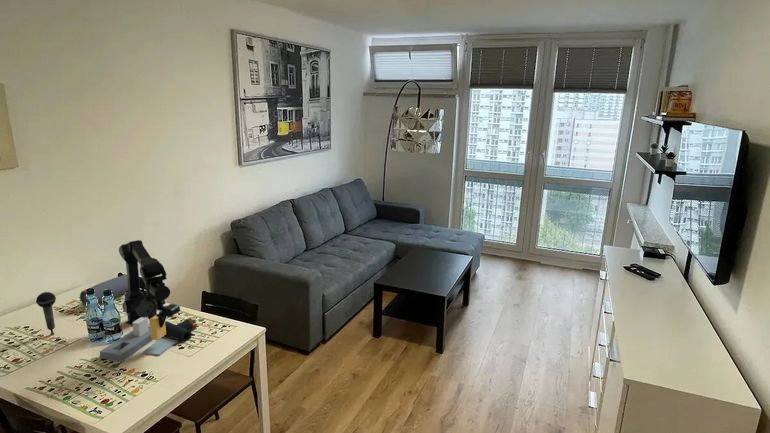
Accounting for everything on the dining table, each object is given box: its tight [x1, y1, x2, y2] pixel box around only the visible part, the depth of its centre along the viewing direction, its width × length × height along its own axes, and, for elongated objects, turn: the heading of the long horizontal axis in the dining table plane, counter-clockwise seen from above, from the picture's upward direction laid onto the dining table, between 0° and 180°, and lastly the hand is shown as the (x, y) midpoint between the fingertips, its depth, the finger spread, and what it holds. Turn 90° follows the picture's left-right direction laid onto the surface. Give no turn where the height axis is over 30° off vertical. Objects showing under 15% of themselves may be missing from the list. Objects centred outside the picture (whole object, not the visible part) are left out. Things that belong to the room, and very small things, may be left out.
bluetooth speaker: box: [79, 274, 128, 307], centre depth 224 cm, size 23×9×10 cm, turn 159°
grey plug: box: [131, 317, 149, 337], centre depth 189 cm, size 3×5×9 cm, turn 167°
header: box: [99, 325, 155, 363], centre depth 184 cm, size 10×22×3 cm, turn 167°
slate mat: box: [142, 337, 179, 357], centre depth 184 cm, size 8×11×1 cm
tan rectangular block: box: [148, 315, 167, 341], centre depth 182 cm, size 3×5×9 cm, turn 167°
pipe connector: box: [165, 317, 197, 343], centre depth 195 cm, size 12×5×15 cm
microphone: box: [35, 291, 57, 336], centre depth 188 cm, size 7×7×20 cm
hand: (158, 326), depth 182 cm, fingers closed on tan rectangular block, 3 cm apart
